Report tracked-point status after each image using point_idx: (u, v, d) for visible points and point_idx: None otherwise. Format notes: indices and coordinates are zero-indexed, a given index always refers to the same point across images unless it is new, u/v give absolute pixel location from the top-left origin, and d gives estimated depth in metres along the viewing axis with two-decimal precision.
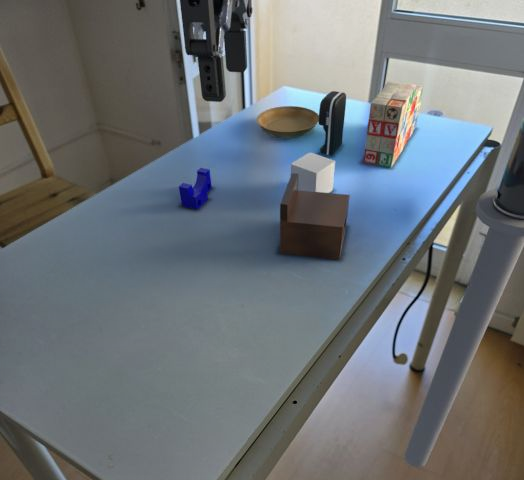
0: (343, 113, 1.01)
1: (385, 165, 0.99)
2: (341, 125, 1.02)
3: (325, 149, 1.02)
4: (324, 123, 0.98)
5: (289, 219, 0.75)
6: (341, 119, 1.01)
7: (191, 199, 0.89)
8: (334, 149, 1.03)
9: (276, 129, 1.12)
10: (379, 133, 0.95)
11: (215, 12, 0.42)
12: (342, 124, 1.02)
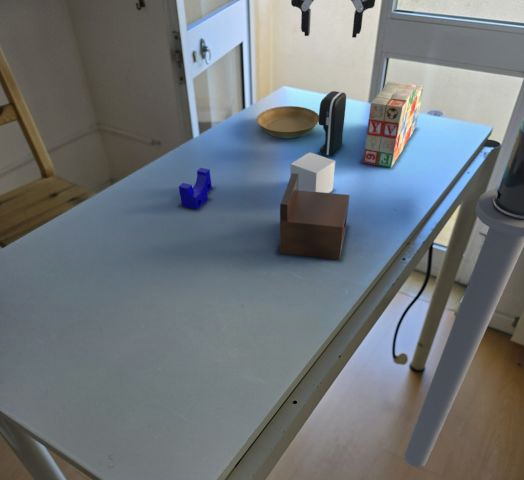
0: (343, 113, 1.01)
1: (385, 165, 0.99)
2: (341, 125, 1.02)
3: (325, 149, 1.02)
4: (324, 123, 0.98)
5: (289, 219, 0.75)
6: (341, 119, 1.01)
7: (191, 199, 0.89)
8: (334, 149, 1.03)
9: (276, 129, 1.12)
10: (379, 133, 0.95)
11: None
12: (342, 124, 1.02)
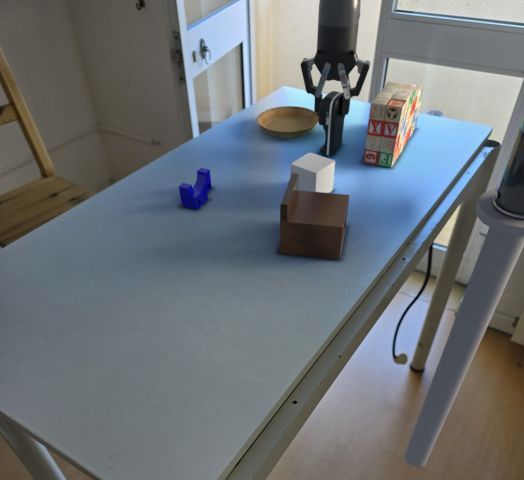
0: None
1: (385, 165, 0.99)
2: (341, 125, 1.02)
3: (325, 149, 1.02)
4: (324, 123, 0.98)
5: (289, 219, 0.75)
6: (341, 119, 1.01)
7: (191, 199, 0.89)
8: (334, 149, 1.03)
9: (276, 129, 1.12)
10: (379, 133, 0.95)
11: None
12: (342, 124, 1.02)
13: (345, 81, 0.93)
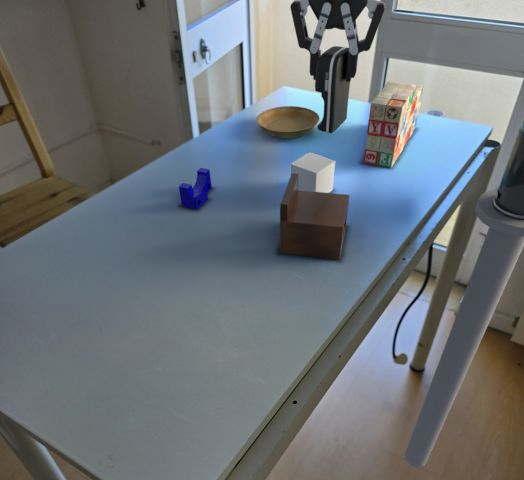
0: None
1: (385, 165, 0.99)
2: (346, 93, 0.77)
3: (324, 125, 0.78)
4: (322, 89, 0.74)
5: (289, 219, 0.75)
6: (345, 85, 0.76)
7: (191, 199, 0.89)
8: (336, 125, 0.78)
9: (276, 129, 1.12)
10: (379, 133, 0.95)
11: None
12: (347, 92, 0.78)
13: (351, 29, 0.68)
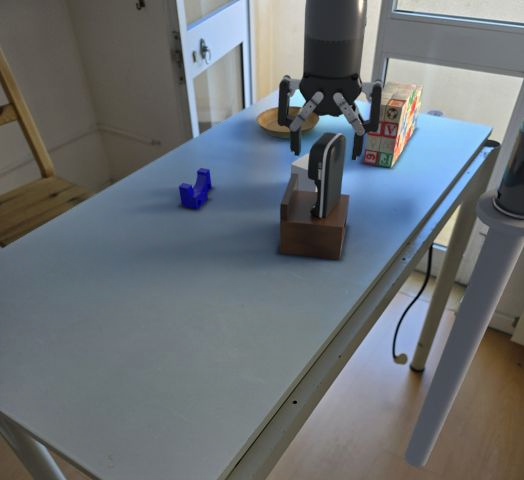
0: (342, 162, 0.73)
1: (385, 165, 0.99)
2: (340, 177, 0.74)
3: (317, 210, 0.74)
4: (315, 177, 0.70)
5: (289, 219, 0.75)
6: (339, 170, 0.73)
7: (191, 199, 0.89)
8: (330, 209, 0.75)
9: (276, 129, 1.12)
10: (379, 133, 0.95)
11: None
12: (341, 176, 0.74)
13: (351, 113, 0.64)
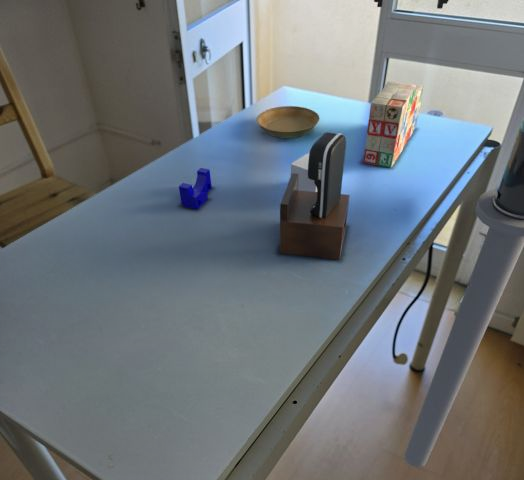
0: (342, 162, 0.73)
1: (385, 165, 0.99)
2: (340, 177, 0.74)
3: (317, 210, 0.74)
4: (315, 177, 0.70)
5: (289, 219, 0.75)
6: (339, 170, 0.73)
7: (191, 199, 0.89)
8: (330, 209, 0.75)
9: (276, 129, 1.12)
10: (379, 133, 0.95)
11: None
12: (341, 176, 0.74)
13: None
